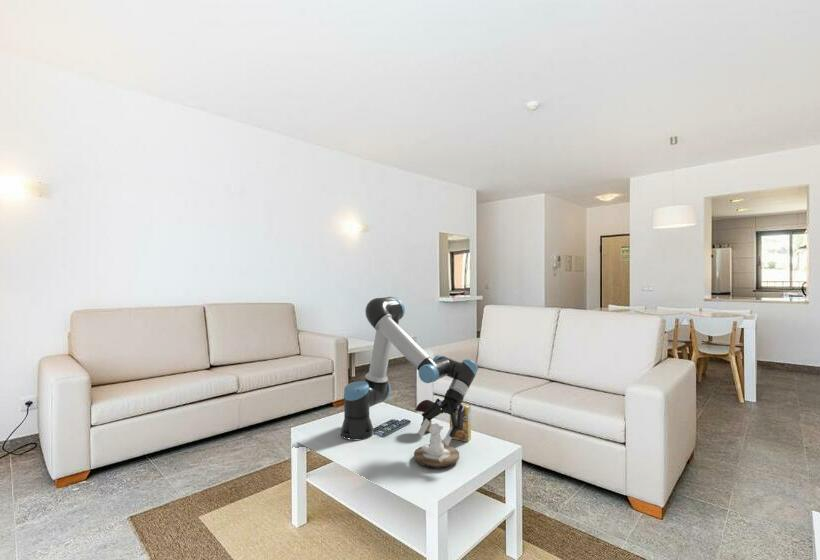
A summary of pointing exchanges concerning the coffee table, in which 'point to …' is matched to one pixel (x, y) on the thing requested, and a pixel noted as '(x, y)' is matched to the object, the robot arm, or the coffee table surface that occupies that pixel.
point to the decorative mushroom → (423, 407)
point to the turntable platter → (437, 457)
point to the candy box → (464, 425)
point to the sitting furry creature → (434, 441)
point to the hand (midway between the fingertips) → (432, 439)
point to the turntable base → (436, 466)
